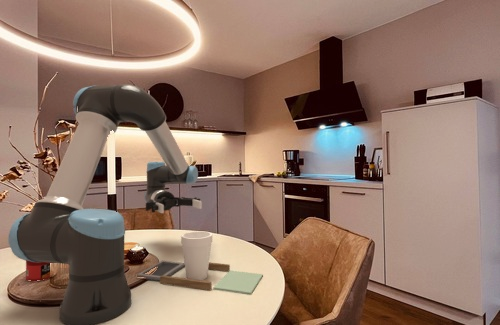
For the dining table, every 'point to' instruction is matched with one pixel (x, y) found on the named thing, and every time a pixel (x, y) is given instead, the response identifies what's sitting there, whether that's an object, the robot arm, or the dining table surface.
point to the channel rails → (191, 282)
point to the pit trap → (162, 270)
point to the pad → (239, 282)
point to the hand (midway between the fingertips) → (182, 207)
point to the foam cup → (196, 253)
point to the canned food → (37, 270)
